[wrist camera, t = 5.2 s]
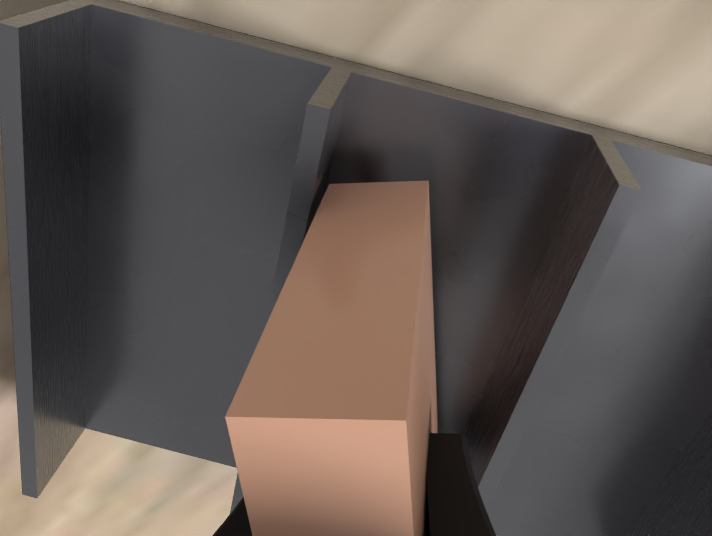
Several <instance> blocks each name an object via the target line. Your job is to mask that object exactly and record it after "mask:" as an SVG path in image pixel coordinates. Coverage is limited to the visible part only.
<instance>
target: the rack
mask: <svg viewBox="0 0 712 536" xmlns="http://www.w3.org/2000/svg"><path fill="white" fill-rule="evenodd" d="M0 114H1V132H2V149H3V167H4V184H5V201H6V219H7V236H8V254H9V271H10V288H11V306H12V323H13V341H14V358H15V375H16V393H17V410H18V428H19V445H20V462H21V480H22V494H23V495H27V496H31V497H34V498H38V496H39V495H40V493H41V492H42V491H43V489H44V488H45V486H46V485H47V483H48V482H49V480H50V479H51V477H52V476H53V475H54V473H55V472H56V470H57V469H58V467H59V466H60V464H61V463H62V461H63V460H64V458H65V457H66V456H67V454H68V453H69V451H70V450H71V448H72V447H73V445H74V444H75V442H76V441H77V439H78V438H79V437H80V435H81V434H82V432H83V431H84V429H85V428H87V429H91V430H95V431H98V432H102V433H106V434H110V435H114V436H118V437H121V438H125V439H129V440H133V441H137V442H141V443H144V444H148V445H152V446H156V447H160V448H164V449H167V450H171V451H175V452H179V453H183V454H186V455H190V456H194V457H198V458H202V459H206V460H209V461H213V462H217V463H221V464H225V465H229V466H232V467H236V468H237V466H236V462H235V457H234V453H233V449H232V444H231V440H230V436H229V431H228V427H227V423H226V418H225V416H226V414H227V411H228V409H229V407H230V405H231V403H232V400H233V398H234V396H235V394H236V391H237V389H238V387H239V385H240V382H241V380H242V378H243V376H244V373H245V371H246V369H247V367H248V364H249V362H250V360H251V358H252V356H253V353H254V351H255V349H256V347H257V344H258V342H259V340H260V338H261V335H262V333H263V331H264V329H265V326H266V324H267V322H268V320H269V317H270V315H271V313H272V311H273V309H274V306H275V304H276V302H277V300H278V297H279V295H280V293H281V291H282V288H283V286H284V284H285V282H286V279H287V277H288V275H289V273H290V270H291V268H292V266H293V264H294V262H295V259H296V257H297V255H298V253H299V250H300V248H301V246H302V244H303V241H304V239H305V237H306V235H307V232H308V230H309V228H310V226H311V223H312V221H313V219H314V217H315V215H316V212H317V210H318V208H319V206H320V203H321V201H322V199H323V197H324V194H325V192H326V190H327V188H328V185H329V184H343V183H372V182H401V181H429V203H430V231H431V258H432V285H433V312H434V339H435V366H436V393H437V420H438V433H453V434H462V435H463V436H465V437H466V438H467V441H468V450H469V455H470V460H471V464H472V468H473V472H474V476H475V479H476V482H477V485H478V489H479V492H480V495H481V498H482V501H483V503H484V506H485V509H486V511H487V514H488V516H489V519H490V521H491V524H492V526H493V529H494V531H495V534H496V536H712V156H710V155H706V154H702V153H698V152H694V151H691V150H687V149H683V148H679V147H675V146H671V145H668V144H664V143H660V142H656V141H652V140H648V139H645V138H641V137H637V136H633V135H629V134H626V133H622V132H618V131H614V130H610V129H606V128H603V127H599V126H595V125H591V124H587V123H583V122H580V121H576V120H572V119H568V118H564V117H560V116H557V115H553V114H549V113H545V112H541V111H538V110H534V109H530V108H526V107H522V106H518V105H515V104H511V103H507V102H503V101H499V100H495V99H492V98H488V97H484V96H480V95H476V94H473V93H469V92H465V91H461V90H457V89H453V88H450V87H446V86H442V85H438V84H434V83H430V82H427V81H423V80H419V79H415V78H411V77H408V76H404V75H400V74H396V73H392V72H388V71H385V70H381V69H377V68H373V67H369V66H365V65H362V64H358V63H354V62H350V61H346V60H343V59H339V58H335V57H331V56H327V55H323V54H320V53H316V52H312V51H308V50H304V49H300V48H297V47H293V46H289V45H285V44H281V43H277V42H274V41H270V40H266V39H262V38H258V37H255V36H251V35H247V34H243V33H239V32H235V31H232V30H228V29H224V28H220V27H216V26H212V25H209V24H205V23H201V22H197V21H193V20H190V19H186V18H182V17H178V16H174V15H170V14H167V13H163V12H159V11H155V10H151V9H147V8H144V7H140V6H136V5H132V4H128V3H125V2H121V1H117V0H68V1H64V2H61V3H58V4H54V5H51V6H47V7H44V8H40V9H37V10H34V11H30V12H27V13H23V14H20V15H17V16H13V17H10V18H6V19H3V20H0ZM242 498H243V492H242V488H241V483H240V479H239V475H238V474H237V480H236V485H235V490H234V496H233V501H232V506H231V511H230V514H231V512H232V511H233V510H234V508H235V507H236V506H237V504H238V503H239V502H240V500H241V499H242Z"/></svg>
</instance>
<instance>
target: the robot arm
mask: <svg viewBox="0 0 712 536" xmlns="http://www.w3.org/2000/svg"><path fill="white" fill-rule="evenodd" d="M426 480H427V499H428V518H429V536H496V534H495V531H494V529H493V526H492V524H491V521H490V519H489V516H488V514H487V511H486V509H485V506H484V503H483V501H482V498H481V495H480V492H479V489H478V485H477V482H476V479H475V476H474V472H473V468H472V464H471V460H470V455H469V450H468V441H467V438H466V437H465V436H463V435H462V434H453V433H429V444H428V457H427V471H426ZM213 536H253V535H252V531H251V527H250V522H249V518H248V514H247V509H246V505H245V501H244V496H243V498H242V499H241V500H240V502H239V503H238V504H237V506H236V507H235V508H234V510H233V511H232V512H231V514H230V515H229V516H228V518H227V519H226V520H225V521H224V523H223V524H222V525H221V526H220V527H219V529H218V530H217V531H216V532H215V533H214V535H213Z"/></svg>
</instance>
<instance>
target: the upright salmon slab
mask: <svg viewBox="0 0 712 536" xmlns="http://www.w3.org/2000/svg"><path fill="white" fill-rule="evenodd" d="M225 418H226V423H227V427H228V431H229V436H230V440H231V444H232V449H233V453H234V457H235V462H236V466H237V470H238V475H239V479H240V483H241V488H242V492H243V496H244V501H245V505H246V509H247V514H248V518H249V522H250V527H251V531H252V535H253V536H429V518H428V499H427V480H426V471H427V457H428V444H429V433H438V420H437V393H436V366H435V339H434V312H433V285H432V258H431V231H430V203H429V181H401V182H372V183H343V184H329V185H328V188H327V190H326V192H325V194H324V197H323V199H322V201H321V203H320V206H319V208H318V210H317V212H316V215H315V217H314V219H313V221H312V223H311V226H310V228H309V230H308V232H307V235H306V237H305V239H304V241H303V244H302V246H301V248H300V250H299V253H298V255H297V257H296V259H295V262H294V264H293V266H292V268H291V270H290V273H289V275H288V277H287V279H286V282H285V284H284V286H283V288H282V291H281V293H280V295H279V297H278V300H277V302H276V304H275V306H274V309H273V311H272V313H271V315H270V317H269V320H268V322H267V324H266V326H265V329H264V331H263V333H262V335H261V338H260V340H259V342H258V344H257V347H256V349H255V351H254V353H253V356H252V358H251V360H250V362H249V364H248V367H247V369H246V371H245V373H244V376H243V378H242V380H241V382H240V385H239V387H238V389H237V391H236V394H235V396H234V398H233V400H232V403H231V405H230V407H229V409H228V411H227V414H226V416H225Z"/></svg>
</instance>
